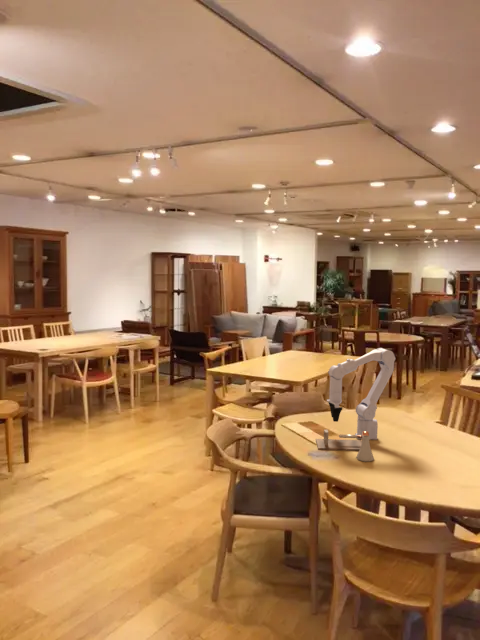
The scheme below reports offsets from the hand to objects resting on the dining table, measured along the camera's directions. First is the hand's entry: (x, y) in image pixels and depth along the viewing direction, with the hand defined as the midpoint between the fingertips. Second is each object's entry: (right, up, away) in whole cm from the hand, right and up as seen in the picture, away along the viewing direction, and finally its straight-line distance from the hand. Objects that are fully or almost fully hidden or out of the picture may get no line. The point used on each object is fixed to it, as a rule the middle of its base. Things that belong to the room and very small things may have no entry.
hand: (334, 419), depth 276 cm
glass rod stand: (+7, -9, -11) cm, 15 cm away
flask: (+8, -12, -29) cm, 32 cm away
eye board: (+1, -10, -10) cm, 15 cm away
